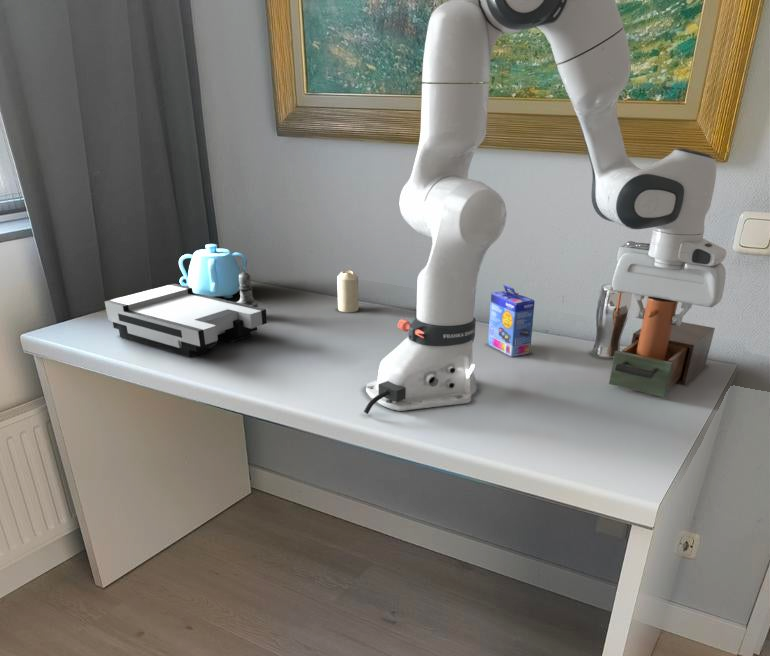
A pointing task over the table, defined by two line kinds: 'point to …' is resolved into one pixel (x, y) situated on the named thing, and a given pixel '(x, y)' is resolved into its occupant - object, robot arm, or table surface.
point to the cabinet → (690, 346)
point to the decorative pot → (213, 272)
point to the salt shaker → (246, 290)
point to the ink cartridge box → (511, 322)
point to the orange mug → (656, 328)
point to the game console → (182, 319)
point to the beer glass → (610, 321)
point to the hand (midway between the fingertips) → (658, 321)
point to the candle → (347, 291)
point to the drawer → (648, 369)
